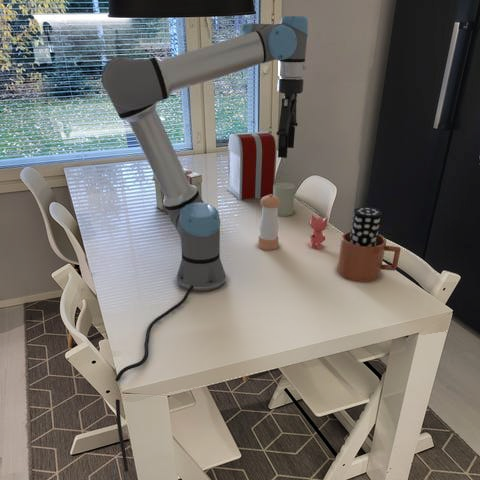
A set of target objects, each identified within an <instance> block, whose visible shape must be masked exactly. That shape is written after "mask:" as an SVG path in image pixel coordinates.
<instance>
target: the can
mask: <svg viewBox="0 0 480 480" xmlns="http://www.w3.org/2000/svg"><path fill="white" fill-rule="evenodd" d="M295 191H296V185H295V184H294V183H291V182H286V181H285V182H284V181H283V182H275V184H274V185H273V196H276V197H278V198H279V199H280V202H281V203H280V206H279V207H278V216H281V217H285V216H286V217H287V216H290V215H291V216H292V215H294V202H295V193H296V192H295Z"/></svg>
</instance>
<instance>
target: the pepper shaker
mask: <svg viewBox="0 0 480 480" xmlns="http://www.w3.org/2000/svg"><path fill="white" fill-rule="evenodd" d="M259 201H260V206H262V211H261V220H260V225H259V235H258V239H257V243H258V244H257V247H258V248H260V249H262V250H268V251H270V250H271V251H272V250H275V249H277V248H279V239H280V238H279V218H278V216H279V215H278V207H279V206H280V203H281V202H280V199H279V198H278V197H276V196H273V195H272V194H269V195H267V196H264V197H262V198H261V199H260V200H259Z"/></svg>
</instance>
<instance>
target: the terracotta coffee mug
mask: <svg viewBox="0 0 480 480" xmlns="http://www.w3.org/2000/svg"><path fill="white" fill-rule="evenodd" d="M350 236H351V230H349V231H346V232H344V233H342V235H341V240H340V241H341V242H340V248H339V255H338V262H337V269H336V271H337V274H338V275H339V276H340V277H342V278H344V279H346V280H348V281H352V282H356V283H357V282H358V283H370V282H374V281H376V280H378V279H379V278H380V276H381V273H382V270H385V271H393V272H395V271H397V269H398V264H399V260H400V256H401V255H400V254H401V251H402V250H401V247H400V246H394V245H387V239H386V238H385V236H383V235H381V234H379V233H378V237H377V243H376V246H373V247H366V246H359V245H354V244H352V243H350ZM385 251H386V252H394V254H393V258H392V264H391V265H390V264H383V262H384V256H385Z"/></svg>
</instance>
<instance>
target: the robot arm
mask: <svg viewBox="0 0 480 480" xmlns="http://www.w3.org/2000/svg"><path fill="white" fill-rule="evenodd" d="M308 24H309V21H308V18H307V17H306V16H303V15H302V16H301V15H300V16H299V15H294V16H293V15H283V16H282V17H281V20H280V22H279V23H275V24H274V23H254V22H251V23H243V24H241V26H240V27H239V31H238V36H235V37H232V38H228V39H225V40H222V41H219V42H216V43H212V44H209V45H206V46H202V47H200V48H196V49H193V50H189V51H186V52H183V53H179V54H176V55H173V56H170V57H166V58H163V59H161V58H158V57H157V56H153V57H150V58H145V59H138V60H137V59H135V58H133V57H132V56H130V55H129V56H128V55H118V56H115V57H113V58H111V59H109V60H108V61H107V62H106V64H105V65H104V67H103V70H102V72H101V84H102V87H103V90H104V91H105V93H106V94H107V96H108V98H109V99H110V102H111V103H112V105H113V107H114V110H115V111H116V113H117V115H118V118H119V119H120V120H122V121H125V122H127V123H128V124H129V127H130V129H131V131H132V134H133V135H134V137H135V139H136V141H137V143H138V145H139V147H140V149H141V151H142V154H143V156H144V157H145V159H146V161H147V163H148V165H149V167H150V170H151V171H152V174H153V173H154V175H155V177H156V179H157V181H158V183H159V185H160V187H161V189H162V191H163V193H164V195H165V198H164V200H163V204H164V206H165V208H166V210H167V212H168V213H167V212H166V213H167V214H168V216H169V220H170V221H171V223H172V224H173V226H174V228H175V229H176V231H177V233H178V235H179V238H180V247H181V250H180V251H181V261H180V264H179V266H178V267H179V268H178V270H177V272H176V273H177V274H176V283H177V285H178V286H179V287H180V288H182V289H183V290H186V292H185V294H184V296H183V297H182V298H181V300H180V301H179V302H177V303H176V304H175V305H173V306H172V307H170V308H169V309H167V310H166V311H165V312H163V313H162V314H160V315H158V316H157V317H156V318H154V319H153V320H152V321H151V322H150V323H149V325H148V326H147V328H146V330H145V331H146V332H145V340H144V346H143V347H144V354H143V356H142V358H141V360H139V361H138V362H135V363H133V364H129V365H127V366H125V367H123V368H121V370H119V372H118V373H117V375H116V377H115V378H114V381H115V382H119V381H120V380H121V378H122V376H123V375H124V374H125V373H126V372H128V371H130V370H132V369H135V368H138V367H140V366H142V365H143V364H144V363H145V362H146V360H147V359H148V356H149V342H150V334H151V330H152V328H153V327H154V325H155V324H157V322H159V321H160V320H161V319H163V318H165V317H166V316H167V315H169V314H170V313H171V312H173V311H174V310H176V309H178V308H179V307H180V306H182V305H183V304H184V303H185V302H186V300H187V298H188V297H189V295H190V294H191V292H194V293H206V292H207V293H208V292H212V291H216V290H218V289H220V288H221V287H223V286H224V285H225V283H226V279H227V278H226V272H225V269H224V267H223V264H222V260H221V256H220V254H221V253H220V252H221V250H220V249H221V248H220V247H221V246H220V245H221V242H220V240H221V239H220V237H221V235H220V234H221V233H220V232H221V230H220V229H221V228H220V227H221V218H220V213H219V211H218V209H217V208H216V207H215V206H213V205H211V204H208V203H205V202H204V200H203V197H202V198H201V196H200V194H199V191H198V189H197V187H196V186H193V185H191V184H190V183H189V181H188V179H187V177H186V174H185V172H184V170H183V168H184V167H183V166H182V164H181V162H180V159H179V156H178V155H177V153H176V150H175V149H174V146H173V144H172V141H171V140H170V137H169V135H168V133H167V131H166V129H165V126H164V124H163V122H162V120H161V117H160V115H159V113H158V111H157V106H158V102H159V103H160V102H161V101H165V100H167V99H169V98H170V96H171V94H172V93H175V92H178V91H180V90H184V89H188V88H190V87H193V86H196V85H199V84H202V83H206V82H209V81H212V80H215V79H218V78H222V77H225V76H227V75H230V74H234V73H238V72H240V71H243V70H246V69H249V68H252V67H256V66H259V65H262V64H266V63H270V62H272V61H275V60H277V61H278V70H277V71H278V73H277V75H278V77H279V78H278V79H277V92H278V93H279V94H284V98H281V105H280V106H281V107H280V109H281V110H280V114H279V115H280V116H279V123H278V130H277V131H276V136H278V147H277V158H281V159H287V158H288V149H294V147H295V135H296V127H298V125H299V122H297V121H298V120H297V102H298V99H297V98H298V94H302V93H303V91H304V79H303V78H304V76H305V70H307V65H305V64H306V53H307V42H308V37H309V34H308V33H309V31H308V30H309V25H308ZM182 167H183V168H182ZM115 415H116V425H117V434H118V439H119V445H120V451H121V456H122V457H121V458H122V461H123V471H124V472H125V473H127V472H128V471H129V466H128V459H127V453H126V447H125V440H124V436H123V427H122V419H121V417H122V416H121V400H120V399H117V398H115Z"/></svg>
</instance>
